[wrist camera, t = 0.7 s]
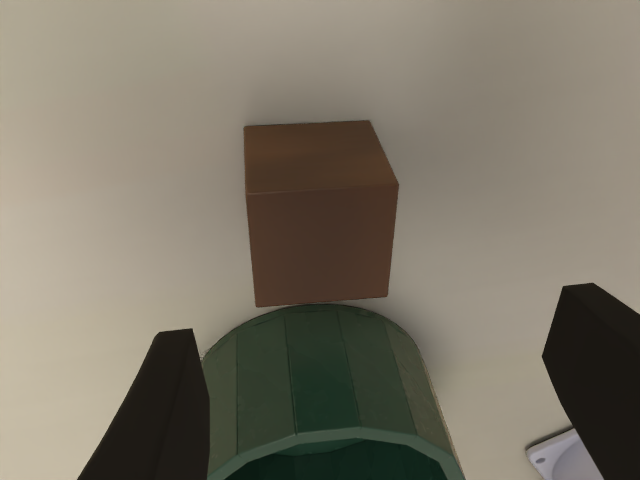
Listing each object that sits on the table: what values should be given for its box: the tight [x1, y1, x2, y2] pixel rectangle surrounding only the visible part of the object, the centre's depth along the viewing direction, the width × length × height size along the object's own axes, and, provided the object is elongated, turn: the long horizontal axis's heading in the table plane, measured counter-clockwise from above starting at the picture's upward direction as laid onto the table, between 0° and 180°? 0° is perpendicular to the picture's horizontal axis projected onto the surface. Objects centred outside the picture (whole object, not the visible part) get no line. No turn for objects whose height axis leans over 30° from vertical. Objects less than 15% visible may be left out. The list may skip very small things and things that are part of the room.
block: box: [244, 121, 399, 307], centre depth 17 cm, size 4×4×4 cm
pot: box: [201, 304, 466, 480], centre depth 23 cm, size 10×10×6 cm
